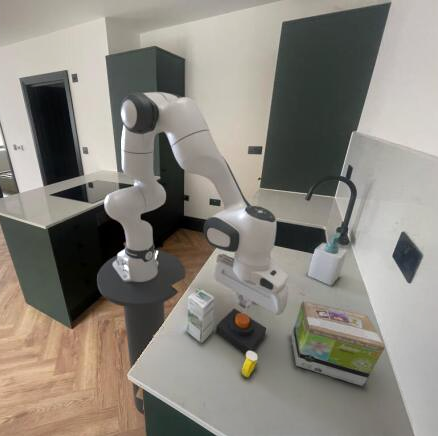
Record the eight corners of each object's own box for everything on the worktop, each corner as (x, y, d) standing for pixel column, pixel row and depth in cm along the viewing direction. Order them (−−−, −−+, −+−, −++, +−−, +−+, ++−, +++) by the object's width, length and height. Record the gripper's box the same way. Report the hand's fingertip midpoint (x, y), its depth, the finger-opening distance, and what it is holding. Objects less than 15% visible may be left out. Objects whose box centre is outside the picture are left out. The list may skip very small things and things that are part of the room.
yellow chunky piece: (248, 383, 58) (251, 368, 55) (238, 375, 59) (240, 360, 57) (258, 366, 61) (262, 351, 59) (248, 359, 63) (251, 344, 61)
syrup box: (212, 332, 72) (215, 296, 66) (201, 344, 68) (203, 307, 62) (198, 322, 75) (199, 286, 70) (186, 333, 72) (187, 296, 66)
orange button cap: (232, 322, 69) (233, 317, 68) (239, 315, 72) (240, 310, 71) (244, 331, 66) (245, 325, 66) (251, 323, 69) (252, 318, 68)
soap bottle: (338, 277, 95) (353, 236, 87) (331, 286, 90) (345, 243, 82) (315, 267, 101) (327, 228, 94) (307, 275, 96) (318, 235, 89)
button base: (215, 332, 72) (216, 320, 70) (233, 315, 78) (234, 303, 76) (248, 357, 64) (250, 344, 62) (265, 335, 70) (267, 323, 68)
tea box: (295, 368, 61) (308, 327, 55) (290, 336, 70) (301, 299, 64) (364, 388, 56) (387, 346, 50) (350, 352, 65) (367, 312, 59)
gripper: (211, 255, 66) (208, 292, 72) (284, 291, 52) (273, 334, 58) (223, 247, 70) (219, 283, 76) (295, 278, 56) (284, 320, 62)
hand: (243, 305), depth 67 cm, fingers closed
